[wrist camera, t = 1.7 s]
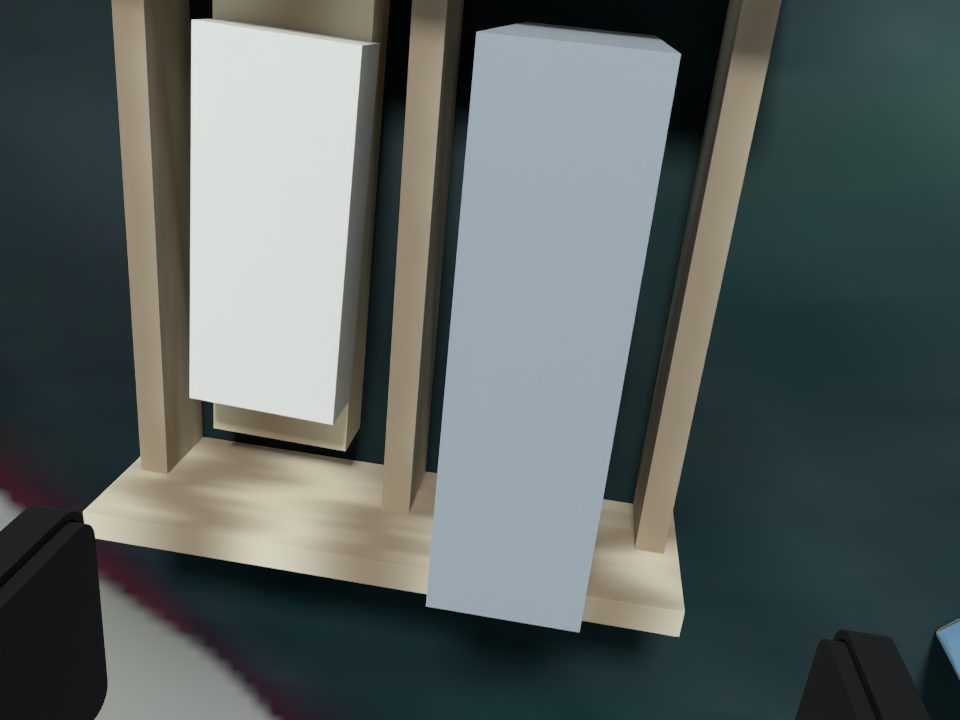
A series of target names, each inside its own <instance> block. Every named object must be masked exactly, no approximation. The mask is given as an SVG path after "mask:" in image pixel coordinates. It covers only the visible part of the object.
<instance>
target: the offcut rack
mask: <svg viewBox="0 0 960 720" xmlns="http://www.w3.org/2000/svg"><path fill="white" fill-rule="evenodd" d="M111 1H112V16H113V32H114V48H115V63H116V79H117V95H118V110H119V126H120V142H121V157H122V173H123V189H124V204H125V220H126V236H127V251H128V267H129V283H130V298H131V314H132V330H133V345H134V361H135V377H136V392H137V408H138V424H139V439H140V455H141V456H140V457H139V458H138V459H137V460H136V461H135V462H134V463H133V464H132V465H131V466H130V467H129V468H128V469H127V470H126V471H125V472H124V473H123V474H122V475H121V476H119V477H118V478H117V479H116V480H115V481H114V482H113V483H112V484H111V485H110V486H109V487H108V488H107V489H106V490H105V491H104V492H103V493H102V494H101V495H100V496H99V497H98V498H97V499H95V500H94V501H93V502H92V503H91V504H90V505H89V506H88V507H87V508H86V509H85V510H84V511H83V518H84V524H88V525H90V526H92V528H93V530H94V534H95V538H97V539H102V540H108V541H114V542H120V543H126V544H132V545H138V546H144V547H150V548H156V549H161V550H167V551H173V552H179V553H185V554H191V555H197V556H203V557H209V558H215V559H221V560H226V561H232V562H238V563H244V564H250V565H256V566H262V567H268V568H274V569H280V570H286V571H291V572H297V573H303V574H309V575H315V576H321V577H327V578H333V579H339V580H345V581H350V582H356V583H362V584H368V585H374V586H380V587H386V588H392V589H398V590H404V591H410V592H415V593H421V594H427V586H428V574H429V563H430V551H431V540H432V529H433V517H434V506H435V495H436V483H437V473H432V472H426V460H427V447H428V435H429V423H430V411H431V399H432V386H433V374H434V362H435V350H436V338H437V325H438V313H439V301H440V289H441V277H442V264H443V252H444V240H445V228H446V216H447V203H448V191H449V179H450V167H451V155H452V142H453V130H454V118H455V106H456V94H457V81H458V69H459V57H460V45H461V33H462V20H463V8H464V0H412V13H411V29H410V46H409V62H408V79H407V95H406V112H405V128H404V145H403V161H402V178H401V194H400V211H399V227H398V244H397V260H396V277H395V294H394V310H393V327H392V343H391V360H390V376H389V393H388V409H387V426H386V442H385V459H384V465H381V464H374V463H368V462H361V461H355V460H348V459H342V458H336V457H329V456H323V455H316V454H310V453H304V452H297V451H291V450H284V449H278V448H272V447H265V446H259V445H252V444H246V443H240V442H233V441H227V440H220V439H214V438H208V437H203V423H202V400H198V399H192V398H189V365H190V165H191V46H190V14H189V0H111ZM781 1H782V0H729V4H728V9H727V14H726V20H725V25H724V30H723V35H722V40H721V46H720V51H719V56H718V61H717V67H716V72H715V77H714V82H713V87H712V93H711V98H710V103H709V108H708V114H707V119H706V124H705V129H704V134H703V140H702V145H701V150H700V155H699V161H698V166H697V171H696V176H695V181H694V187H693V192H692V197H691V202H690V208H689V213H688V218H687V223H686V228H685V234H684V239H683V244H682V249H681V255H680V260H679V265H678V270H677V275H676V281H675V286H674V291H673V296H672V301H671V307H670V312H669V317H668V322H667V328H666V333H665V338H664V343H663V348H662V354H661V359H660V364H659V369H658V375H657V380H656V385H655V390H654V395H653V401H652V406H651V411H650V416H649V422H648V427H647V432H646V437H645V442H644V448H643V453H642V458H641V463H640V469H639V474H638V479H637V484H636V489H635V495H634V500H633V504H630V503H624V502H617V501H611V500H605V499H603V502H602V508H601V513H600V519H599V525H598V531H597V536H596V542H595V548H594V553H593V559H592V565H591V570H590V576H589V582H588V587H587V593H586V599H585V605H584V610H583V616H582V621H587V622H593V623H599V624H604V625H610V626H616V627H622V628H628V629H634V630H640V631H646V632H652V633H658V634H663V635H669V636H675V637H679V635H680V630H681V626H682V622H683V618H684V613H685V609H684V601H683V592H682V584H681V576H680V567H679V559H678V551H677V542H676V534H675V526H674V517H673V508H674V503H675V498H676V494H677V489H678V484H679V479H680V475H681V470H682V465H683V461H684V456H685V451H686V447H687V442H688V437H689V433H690V428H691V423H692V418H693V414H694V409H695V404H696V400H697V395H698V390H699V386H700V381H701V376H702V372H703V367H704V362H705V357H706V353H707V348H708V343H709V339H710V334H711V329H712V325H713V320H714V315H715V311H716V306H717V301H718V297H719V292H720V287H721V282H722V278H723V273H724V268H725V264H726V259H727V254H728V250H729V245H730V240H731V236H732V231H733V226H734V221H735V217H736V212H737V207H738V203H739V198H740V193H741V189H742V184H743V179H744V175H745V170H746V165H747V161H748V156H749V151H750V146H751V142H752V137H753V132H754V128H755V123H756V118H757V114H758V109H759V104H760V100H761V95H762V90H763V85H764V81H765V76H766V71H767V67H768V62H769V57H770V53H771V48H772V43H773V39H774V34H775V29H776V24H777V20H778V15H779V10H780V6H781Z"/></svg>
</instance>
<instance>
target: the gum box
mask: <svg viewBox="0 0 960 720" xmlns="http://www.w3.org/2000/svg"><path fill="white" fill-rule="evenodd" d="M936 636H937V638H938V639H939V641H940V643H941V645H942V647H943V649H944V651H945V652H946V654H947V656H948V658H949V660H950V662H951V664H952V666H953V668H954V670H955V672H956V674H957V676H958V678H959V680H960V618H959V619H957V620H955V621H953V622H951V623H949V624H947V625H945V626H943V627H941V628H939V629H938V630H937V632H936Z"/></svg>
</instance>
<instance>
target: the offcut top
mask: <svg viewBox="0 0 960 720" xmlns="http://www.w3.org/2000/svg"><path fill="white" fill-rule="evenodd" d="M379 49H380V43H377V42H370V41H364V40H357V39H351V38H344V37H337V36H331V35H324V34H318V33H311V32H305V31H298V30H292V29H285V28H279V27H272V26H266V25H259V24H253V23H246V22H240V21H233V20H227V19H191V165H190V365H189V398H192V399H198V400H203V401H208V402H213V403H219V404H224V405H229V406H234V407H240V408H245V409H250V410H256V411H261V412H266V413H271V414H277V415H282V416H287V417H292V418H298V419H303V420H308V421H313V422H319V423H324V424H329V425H333V424H334V423H335V421H336V420H337V418H338V417H339V415H340V414H341V412H342V411H343V409H344V408H345V406H346V405H347V403H348V402H349V400H350V390H351V378H352V366H353V355H354V343H355V331H356V319H357V308H358V296H359V284H360V272H361V260H362V249H363V237H364V225H365V213H366V202H367V190H368V178H369V166H370V155H371V143H372V131H373V119H374V108H375V96H376V84H377V72H378V61H379Z"/></svg>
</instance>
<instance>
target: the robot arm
mask: <svg viewBox="0 0 960 720" xmlns="http://www.w3.org/2000/svg"><path fill="white" fill-rule="evenodd" d="M100 602H101V601H100V590H99V578H98V567H97V555H96V544H95V534H94V530H93V528H92V526H90V525H88V524H84V520H83V517H82V516H81V514H80V513H79V512H77V511H72V510H66V509H59V508H53V507H47V506H40V505H34V506H30V507H29V508H27V509H26V510H24V511H23V512H22V513H21V514H20V515H19V516H17V517H16V518H15V519H14V520H13V521H12V522H11V523H9V524H8V525H7V526H6V527H5V528H4V529H3V530H2V531H0V720H94V719H95V718H96V716H97V715H98V713H99V711H100V710H101V708H102V705H103V703H104V700H105V697H106V692H107V672H106V660H105V648H104V636H103V625H102V613H101V603H100ZM795 720H931V719H930V716H929V714H928V712H927V710H926V708H925V706H924V704H923V702H922V700H921V698H920V695H919V693H918V691H917V689H916V687H915V685H914V683H913V681H912V679H911V676H910V674H909V672H908V670H907V668H906V666H905V664H904V662H903V660H902V658H901V655H900V653H899V651H898V649H897V647H896V645H895V643H894V642H893V640H892V639H891V638H889V637H887V636H881V635H875V634H868V633H862V632H855V631H849V630H840V631H838V632H837V634H836V635H835V637H834V639H833V640H828V639H823V640H821V641H820V643H819V645H818V647H817V650H816V653H815V657H814V660H813V663H812V666H811V670H810V673H809V676H808V679H807V683H806V686H805V689H804V692H803V696H802V699H801V702H800V705H799V709H798V712H797V715H796V718H795Z"/></svg>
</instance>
